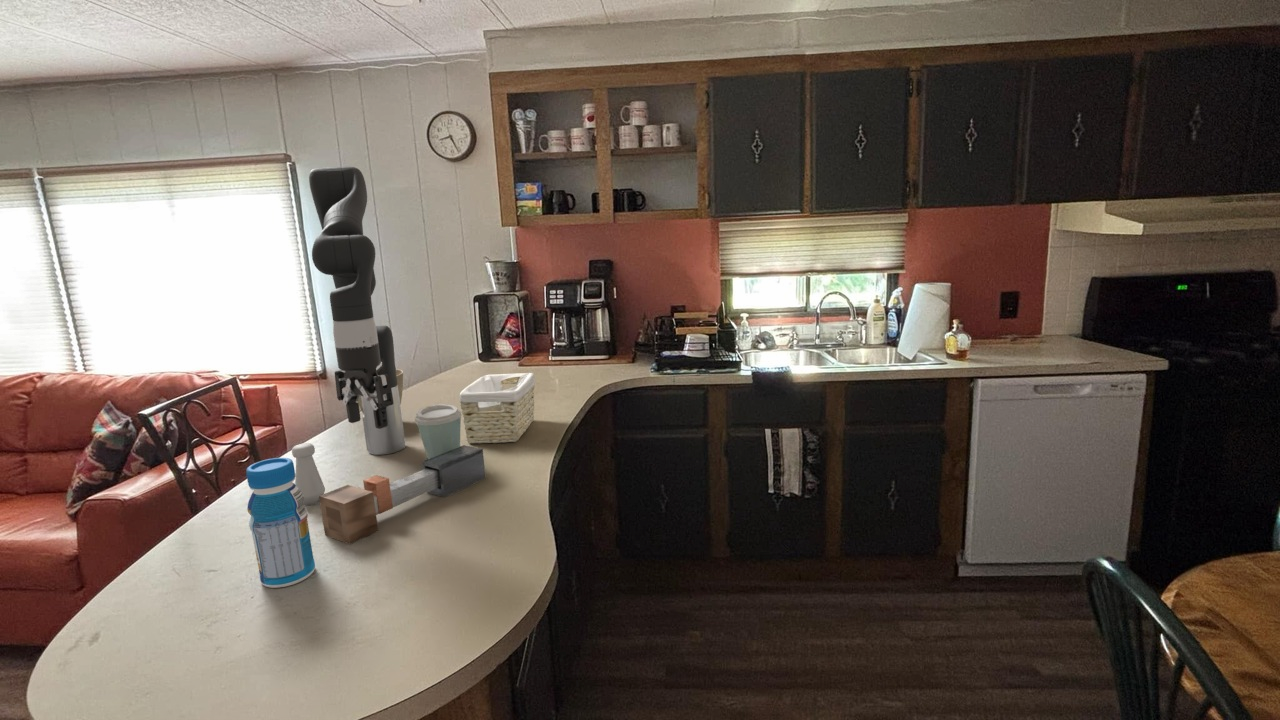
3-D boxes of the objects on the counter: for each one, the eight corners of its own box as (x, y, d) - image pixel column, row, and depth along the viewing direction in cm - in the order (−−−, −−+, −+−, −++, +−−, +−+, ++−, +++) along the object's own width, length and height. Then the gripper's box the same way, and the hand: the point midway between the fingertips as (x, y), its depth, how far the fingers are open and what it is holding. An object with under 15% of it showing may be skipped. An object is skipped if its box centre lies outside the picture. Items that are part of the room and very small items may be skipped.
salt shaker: (332, 498, 140) (323, 441, 137) (309, 509, 135) (299, 450, 132) (314, 494, 142) (305, 439, 140) (290, 505, 137) (281, 447, 135)
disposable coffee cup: (475, 466, 155) (469, 407, 152) (435, 480, 148) (428, 418, 145) (452, 457, 162) (446, 400, 159) (412, 470, 155) (405, 410, 152)
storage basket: (487, 420, 194) (482, 373, 191) (540, 418, 193) (536, 371, 190) (461, 446, 171) (456, 393, 168) (521, 445, 170) (516, 391, 167)
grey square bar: (433, 481, 141) (430, 454, 140) (445, 484, 139) (442, 456, 138) (346, 518, 124) (342, 488, 123) (359, 523, 122) (354, 492, 120)
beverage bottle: (277, 595, 102) (256, 477, 98) (249, 582, 107) (228, 468, 103) (327, 570, 109) (309, 459, 105) (299, 559, 114) (281, 452, 110)
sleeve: (467, 473, 151) (463, 445, 149) (485, 478, 147) (482, 448, 146) (425, 492, 141) (421, 461, 139) (444, 497, 138) (441, 466, 136)
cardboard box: (353, 522, 127) (347, 484, 126) (378, 530, 123) (372, 491, 122) (325, 535, 122) (318, 495, 121) (350, 544, 118) (344, 503, 117)
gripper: (316, 344, 122) (328, 425, 125) (362, 348, 114) (373, 435, 117) (352, 337, 128) (363, 415, 131) (397, 341, 120) (408, 424, 123)
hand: (368, 424), depth 124 cm, fingers open, 8 cm apart
